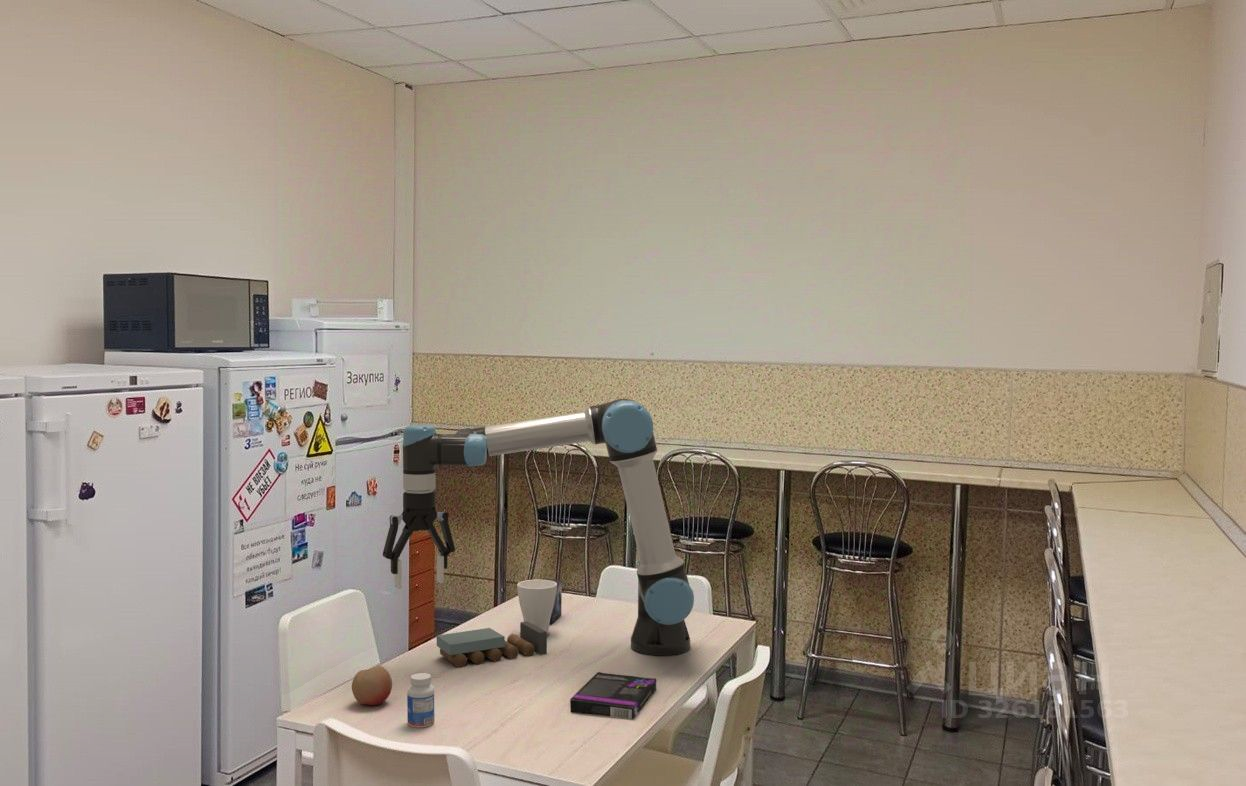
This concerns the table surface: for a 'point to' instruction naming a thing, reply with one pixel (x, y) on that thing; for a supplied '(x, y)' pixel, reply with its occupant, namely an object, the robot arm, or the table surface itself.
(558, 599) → the small box
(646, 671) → the table surface
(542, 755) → the table surface
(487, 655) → the roller bed
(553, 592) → the cup
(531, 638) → the bar
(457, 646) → the slab
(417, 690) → the pill bottle
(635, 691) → the box
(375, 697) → the fruit
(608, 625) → the table surface
